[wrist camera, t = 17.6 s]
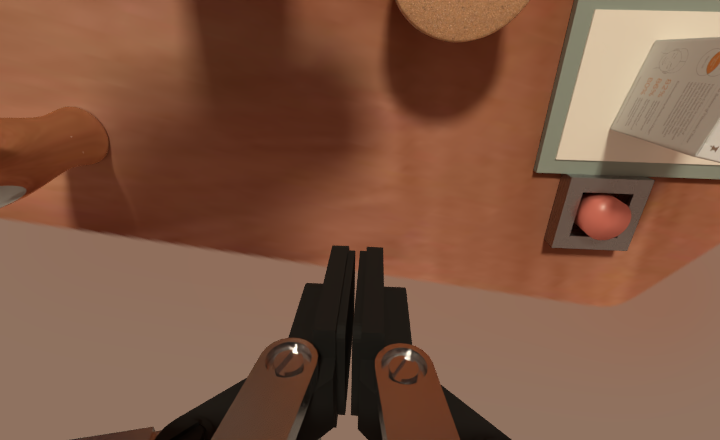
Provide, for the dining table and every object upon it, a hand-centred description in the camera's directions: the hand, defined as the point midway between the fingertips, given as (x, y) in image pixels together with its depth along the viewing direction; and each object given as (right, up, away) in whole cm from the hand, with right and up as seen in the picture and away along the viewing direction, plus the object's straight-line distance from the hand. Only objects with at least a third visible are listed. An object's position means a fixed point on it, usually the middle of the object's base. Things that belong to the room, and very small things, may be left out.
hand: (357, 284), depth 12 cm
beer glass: (-30, +11, +27) cm, 41 cm away
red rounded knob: (+25, +3, +27) cm, 37 cm away
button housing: (+25, +3, +27) cm, 37 cm away
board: (+28, +14, +22) cm, 38 cm away
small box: (+27, +14, +21) cm, 37 cm away
